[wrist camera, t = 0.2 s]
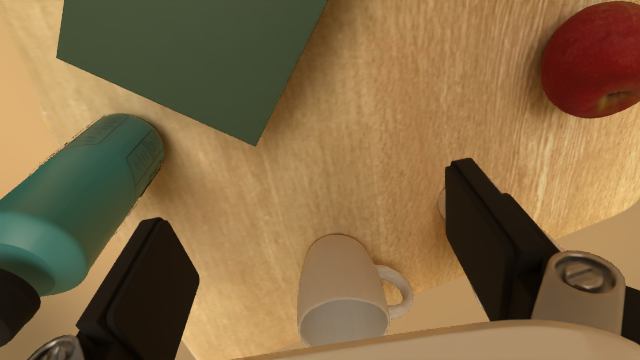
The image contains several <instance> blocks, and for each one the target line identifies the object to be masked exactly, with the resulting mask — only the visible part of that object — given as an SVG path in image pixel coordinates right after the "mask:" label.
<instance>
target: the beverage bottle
mask: <svg viewBox="0 0 640 360" xmlns="http://www.w3.org/2000/svg"><path fill="white" fill-rule="evenodd" d="M96 120H97V119H96ZM90 125H91V124H90ZM85 128H86V127H85ZM87 128H88V127H87ZM87 128H86V130H85V131H84V132H83V133H81V134H80V135H79V136H78V137H76V138H75V139H74V140H73V141H71V142H70V143H69V142H68V143H69V144H68V143H66V144H68V145H66V144H65V145H66V146H65V147H64V148H63V149H61V150H60V151H58V153H56V154H55V155H54V156H53V157H51V158H50V159H48V161H47V162H45V163H44V164H43V165H41V166H40V167H39V168H38V169H37V170H36V171H35V172H34V173H33V174H32V175H30V176H29V177H28V178H27V179H25V180H24V181H23V182H22V183H20V184H19V185H18V186H17V187H15V188H14V189H13V190H12V191H11V192H9V193H8V194H7V195H6V196H4V197H3V198H2V199H1V200H0V347H2V346H4V345H6V344H7V343H8V342H9V341H11V340H12V339H13V338H14V336H15V335H16V334H17V333H18V332H19V331H20V330H21V328H22V327H23V326H24V325H25V324H26V323H27V322H29V321H30V320H31V318H32V317H33V316H34V315H35V313H36V312H37V311H38V310H39V308H40V304H41V300H40V297H41V296H48V295H55V294H59V293H63V292H66V291H69V290H71V289H73V288H75V287H76V286H78V285H79V284H80V283H81V282H82V281H83V280H84V279H85V278H86V276H87V274H88V272H89V270H90V268H91V267H92V265H93V264H94V262H95V261H96V259H97V258H98V256H99V255H100V253H101V252H102V250H103V249H104V248H105V246H106V245H107V243H108V242H109V240H110V239H111V237H112V236H113V234H114V233H115V232H116V230H117V229H118V227H119V226H120V225H121V224H122V222H123V221H124V219H125V218H126V216H127V215H128V213H129V212H130V210H131V209H132V208H133V206H134V205H135V203H136V201H137V200H138V198H139V197H141V196H142V195H143V193H144V191H145V190H146V188H147V187H148V185H150V183H151V182H152V180H153V179H154V177H155V176H156V174H157V173H158V171H159V170H160V169H161V168H159V167H161V166H160V165H161V164H162V163H163V159H165V158H164V153H165V151H164V145H163V141H162V139H161V137H160V135H159V134H158V132H157V131H156V130H155V129H154V128H153V127H152V126H151V125H150V124H149V123H147V122H146V121H144V120H143V119H141V118H139V117H136V116H133V115H129V114H113V115H109V114H108V116H105V117H104V116H103V117H102V118H101V119H99V120H98V121H96V122H95V123H94V124H93V125H91V126H90V127H89V128H88V129H87ZM80 132H81V131H80ZM76 135H77V134H76ZM73 138H74V137H73ZM71 139H72V138H71ZM158 168H159V169H158ZM157 170H158V171H157ZM156 171H157V172H156ZM155 173H156V174H155ZM154 174H155V175H154ZM153 176H154V177H153ZM152 177H153V178H152ZM138 201H139V200H138ZM135 207H136V206H135ZM135 207H134V208H135ZM130 214H131V213H130ZM128 216H129V215H128Z"/></svg>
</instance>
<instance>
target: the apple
mask: <svg viewBox="0 0 640 360" xmlns="http://www.w3.org/2000/svg"><path fill="white" fill-rule="evenodd" d="M541 81H542V86H543V89H544V92H545V94H546V95H547V97H548V99H549V100H550V101H551V102H552V103H553V104H554V105H555V106H556V107H558V108H559V109H560V110H562V111H563V112H565V113H568V114H570V115H573V116H576V117H581V118H600V117H605V116H609V115H613V114H615V113H617V112H620V111H623V110H625V109H627V108H629V107H631V106H633V105H634V104H636V103H638V102H639V101H640V5H638V4H635V3H631V2H625V1H612V2H605V3H600V4H595V5H592V6H589V7H587V8H585V9H583V10H581V11H580V12H578V13H576V14H575V15H574V16H572V17H571V18H570V19H568V20H567V21H566V22H565V23H564V24H562V25H561V26H560V27H559V28H558V29H557V31H556V32H555V33H554V35H553V36H552V38H551V40H550V41H549V43H548V45H547V47H546V49H545V52H544V54H543V58H542V63H541Z"/></svg>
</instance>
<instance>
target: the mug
mask: <svg viewBox="0 0 640 360" xmlns="http://www.w3.org/2000/svg"><path fill="white" fill-rule="evenodd" d="M380 278H382V279H385V280H387V281H389V282H391V283H393V284H394V285H396V286H397V287H398V289H399V290H400V292H401V294H402V296H403V301H402V302H401V303H400V304H397V305H387V301H386V297H385V293H384V290H383V286H382V282H381V279H380ZM412 303H413V289H412V287H411V285H410V283H409V282H408V280H407V279H406V278H405V277H404V276H403V275H402V274H401V273H399V272H398V271H396V270H395V269H392V268H390V267H387V266H383V265H374V263H373V260H372V258H371V257H370V255H369V254H368V252H367V251H366V249H365V247H364V246H363V245H362V244H360V243H359V242H358V241H357V240H355V239H354V238H351V237H349V236H345V235H327V236H324V237H322V238H321V239H319V240H317V241H316V242H315V243H314V244H313V245H312V247H311V248H310V249H309V251H308V253H307V255H306V258H305V261H304V264H303V267H302V271H301V276H300V281H299V290H298V300H297V322H298V334H299V337H300V338H301V340H302V341H303V342H304V343H305V344H306V345H308V346H309V347H315V346H321V345H328V344H334V343H341V342H347V341H354V340H361V339H367V338H374V337H380V336H385V334H386V333H387V331H388V328H389V326H390V319H391V320H392V319H396V318H400V317H402V316H403V315H405V314H406V313H407V312H408V311H409V310H410V308H411V305H412Z"/></svg>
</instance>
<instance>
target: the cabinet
mask: <svg viewBox="0 0 640 360" xmlns="http://www.w3.org/2000/svg"><path fill="white" fill-rule="evenodd" d="M327 2H328V0H64V7H63V14H62V21H61V28H60V35H59V42H58V49H57V56H56V58H58V59H60V60H62V61H64V62H67V63H69V64H71V65H73V66H76V67H78V68H80V69H82V70H85V71H87V72H89V73H91V74H94V75H96V76H98V77H100V78H103V79H105V80H107V81H109V82H111V83H114V84H116V85H118V86H120V87H123V88H125V89H127V90H129V91H132V92H134V93H136V94H138V95H141V96H143V97H145V98H147V99H150V100H152V101H154V102H156V103H159V104H161V105H163V106H165V107H168V108H170V109H172V110H174V111H177V112H179V113H181V114H183V115H186V116H188V117H190V118H192V119H195V120H197V121H199V122H201V123H203V124H206V125H208V126H210V127H212V128H215V129H217V130H219V131H221V132H224V133H226V134H228V135H230V136H233V137H235V138H237V139H239V140H242V141H244V142H246V143H248V144H251V145H253V146H256V145H257V143H258V141H259V139H260V137H261V135H262V133H263V131H264V129H265V127H266V125H267V123H268V120H269V118H270V116H271V114H272V112H273V110H274V108H275V106H276V104H277V102H278V100H279V98H280V96H281V94H282V92H283V90H284V88H285V86H286V84H287V82H288V80H289V78H290V76H291V74H292V72H293V70H294V68H295V66H296V64H297V62H298V60H299V58H300V56H301V54H302V52H303V50H304V48H305V46H306V44H307V42H308V40H309V38H310V36H311V34H312V32H313V30H314V28H315V26H316V24H317V22H318V20H319V18H320V16H321V14H322V12H323V10H324V8H325V6H326V4H327Z"/></svg>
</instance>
